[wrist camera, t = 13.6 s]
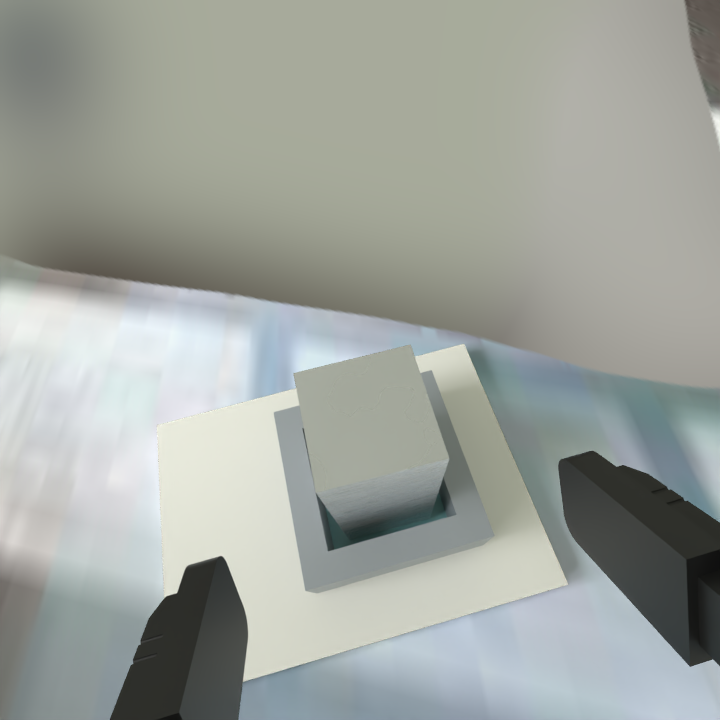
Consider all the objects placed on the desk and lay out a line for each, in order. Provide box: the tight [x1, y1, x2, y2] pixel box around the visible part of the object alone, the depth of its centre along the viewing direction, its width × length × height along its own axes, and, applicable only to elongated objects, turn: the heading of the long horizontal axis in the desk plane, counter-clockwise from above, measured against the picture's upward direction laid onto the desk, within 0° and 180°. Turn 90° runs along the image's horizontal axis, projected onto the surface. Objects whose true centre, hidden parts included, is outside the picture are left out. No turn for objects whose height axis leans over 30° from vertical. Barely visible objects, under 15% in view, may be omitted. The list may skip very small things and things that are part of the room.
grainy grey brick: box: [293, 345, 449, 540], centre depth 19 cm, size 4×4×10 cm
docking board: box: [157, 344, 568, 682], centre depth 22 cm, size 18×13×4 cm
